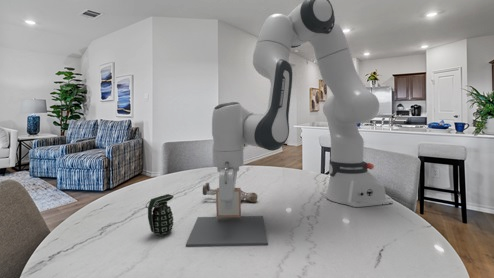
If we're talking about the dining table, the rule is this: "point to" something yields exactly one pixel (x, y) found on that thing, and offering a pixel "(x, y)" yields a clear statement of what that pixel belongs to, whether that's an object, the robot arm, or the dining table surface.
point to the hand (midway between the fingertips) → (229, 205)
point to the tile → (236, 205)
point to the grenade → (160, 215)
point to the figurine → (249, 196)
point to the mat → (228, 231)
